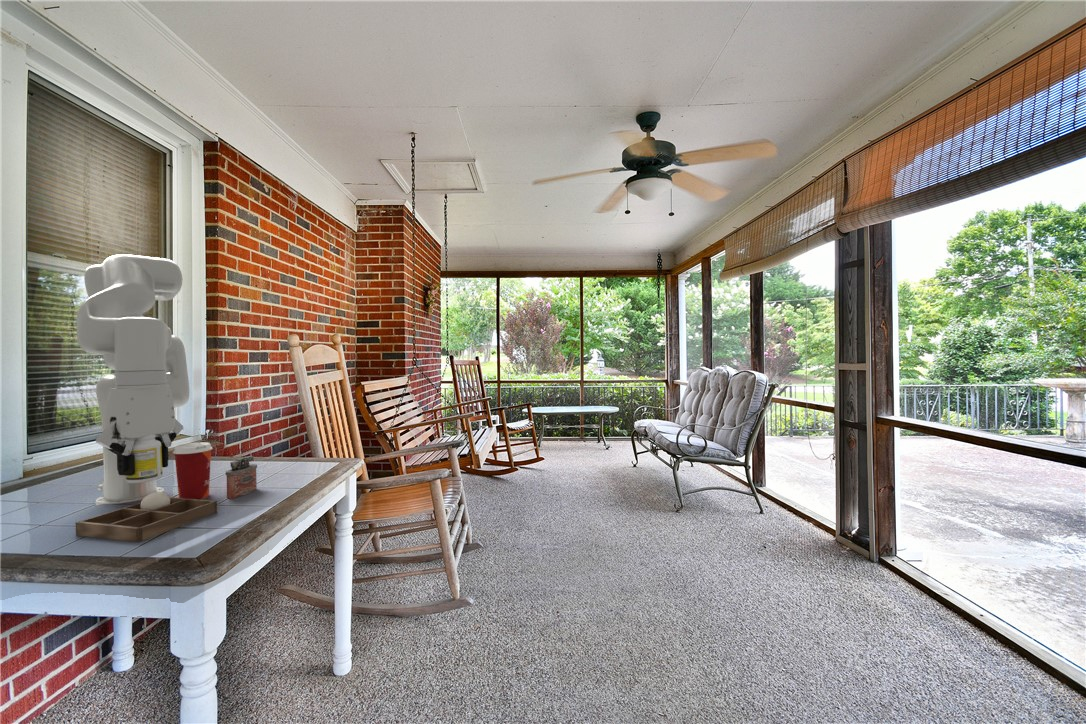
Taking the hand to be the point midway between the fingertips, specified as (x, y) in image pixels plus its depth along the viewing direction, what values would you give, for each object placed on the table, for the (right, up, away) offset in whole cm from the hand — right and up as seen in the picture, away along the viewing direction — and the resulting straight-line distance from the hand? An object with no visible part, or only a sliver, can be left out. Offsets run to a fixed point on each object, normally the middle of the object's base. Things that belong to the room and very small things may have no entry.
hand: (144, 469), depth 88 cm
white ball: (-6, -12, +9) cm, 17 cm away
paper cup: (-7, -13, +21) cm, 26 cm away
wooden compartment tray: (-3, -13, +5) cm, 14 cm away
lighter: (+3, -13, +24) cm, 28 cm away
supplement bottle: (0, -2, 0) cm, 2 cm away
